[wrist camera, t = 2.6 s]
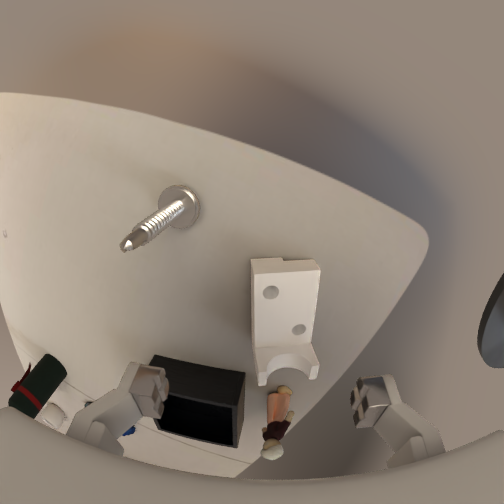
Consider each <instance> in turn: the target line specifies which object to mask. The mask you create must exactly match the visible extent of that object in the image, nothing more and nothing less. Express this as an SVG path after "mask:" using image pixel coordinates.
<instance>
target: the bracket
mask: <svg viewBox="0 0 504 504" xmlns="http://www.w3.org/2000/svg"><path fill="white" fill-rule="evenodd" d="M320 272H321V269H320V268H319V266H318V265H317V263H316V262H315V260H314V259H309V260H292V261H283V259H282V257H279V258H260V259H251V317H252V348H253V355H254V361H255V367H256V374H257V380H258V386H264V385H266V384H267V378H268V376H269V375H270V374H271V373H272V372H273V371H275V370H277V369H279V368H285V367H290V368H295V369H298V370H300V371H302V372H304V373H305V374H306V375H307V377H308V379H309V380H312V379H316V378H317V374H318V370H319V362H318V360H317V357H316V354H315V352H314V349H313V347H312V344H311V338H312V332H313V325H314V318H315V311H316V304H317V297H318V289H319V281H320Z"/></svg>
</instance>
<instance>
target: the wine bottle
mask: <svg viewBox="0 0 504 504" xmlns="http://www.w3.org/2000/svg"><path fill="white" fill-rule="evenodd" d="M30 369H31V365H30V364H29V368H28V370H27V371H26V373H25V374H24V376H23V377H22V379H21V380H20V382H19V381H17V382H16V384H15V385H14V386H13V387H12V389H11V391H13V392H14V393H13V395H12V396H11V397H10V399H9V402H8V403H9V407H13V408H15V409H17V410H19V411H20V412H22V413H24V414H25V415H27V416H29V417H31V418H32V419H34V418H35V417H36V416H37V414H38V413H39V411H40V410H41V409H42V407H43V406H44V405H45V403H46V402H47V401H48V399H49V398H50V397H51V395H52V394H53V393H54V391H55V390H56V389H57V387H58V386H59V385H60V383H61V382H62V381H63V380H64V378H65V377H66V375H67V372H66V370H65V368H64V367H63V365H62V364H61V363H60V362H59V361H58V360H57V359H56V358H55V357H53V356H51V355H50V354H45V355H44V357H43V358H42V359H41V360H40V361H39V362H38V364H37V365H36V366H35V367H34V368H33V370H32V371H31V372H30Z"/></svg>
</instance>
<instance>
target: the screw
mask: <svg viewBox="0 0 504 504" xmlns="http://www.w3.org/2000/svg"><path fill="white" fill-rule="evenodd" d="M158 209H159V210H158V211H156V212H155V213H153V214H152V215H150V216H148V217H147V218H146V219H144V220H143V221H141V222H140V223H138V224H137V225H136V226H135V227H134V228H133V230H132V232H131V233H130V234H129V235H128V236H126V237H125V238H124V239H123V241H122V242H121V243H120V249H121V250H122V252H124V253H125V252H126V251H127V250H129V251H130V250H134V249H136V248H138V247H139V246H143V245H145V244H147V243H149V242H150V241H151V240H153V239H154V238H155V237H156V236H157V235H159V233H161V232H162V231H163V230H164V229H166V228H167V227H168V226H169V225H170V226H172V227H174V228H179V229H182V228H187V227H189V226H191V225H192V224H193V223H194V222H195V221H196V220H197V218H198V215H199V211H200V205H199V201H198V199H197V197H196V195H195V194H194V193H193V191H191V190H190V189H189V188H187V187H185V186H182V185H174V186H170V187H168V188H166V189H165V190H164V191H163V192H162V194H161V195H160V197H159V201H158Z"/></svg>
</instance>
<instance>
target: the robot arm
mask: <svg viewBox="0 0 504 504" xmlns="http://www.w3.org/2000/svg"><path fill="white" fill-rule="evenodd" d="M165 374H166V372H165V369H164V368H160V367H154V366H149V365H144V364H140V363H135V362H131V363H130V364H129V365H128V367H127V369H126V371H125V373H124V375H123V377H122V379H121V381H120V384H119V386H118V388H117V389H113V390H111V391H110V392H108V393H107V394H105V395H104V396H102V397H101V398H99V399H98V400H96V401H94V402H93V403H91V404H90V405H88V406H87V407H85V408H83V409H82V410H80V411H79V412H77V413H76V415H75V417H74V419H73V421H72V423H71V425H70V427H69V429H68V431H67V433H66V435H65V434H63V433H60V432H58V431H56V430H54V429H52V428H50V427H48V426H46V425H44V424H42V423H40V422H38V421H36V420H34V419H32V418H31V417H29V416H27V415H25V414H24V413H22V412H20V411H19V410H17V409H15V408H13V407H5V408H2V409H0V504H504V431H503V430H498V431H495V432H493V433H491V434H489V435H487V436H485V437H482V438H481V439H478V440H476V441H474V442H471V443H468V444H466V445H464V446H461V447H459V448H456V449H453V450H450V451H448V452H445V449H444V445H443V442H442V439H441V436H440V433H439V430H438V429H437V428H435V427H434V426H433V425H432V424H431V423H429V422H428V421H427V420H425V419H424V418H423V417H422V416H421V415H420V414H418V413H417V412H416V411H415V410H413V409H412V408H411V407H410V406H409V405H407V404H406V403H402V401H401V398H400V395H399V392H398V389H397V387H396V383H395V381H394V378H393V376H392V375H391V374H390V375H382V376H380V375H378V376H367V377H359V378H358V379H357V381H356V383H357V386H356V387H354V388H353V390H352V392H351V398H350V400H351V407H352V409H353V410H355V414H354V416H353V418H354V422H355V428H364V427H372V426H374V427H373V428H374V429H375V430H376V431H377V433H378V434H379V435H380V436H381V437H382V438H383V439H384V441H385V442H386V443H387V444H388V445H389V446H390V447H391V448H392V450H393V451H394V452H395V454H394V455H393V456H392V457H391V458H390V459H389V460H388V461H387V466H388V469H384V470H379V471H373V472H368V473H361V474H355V475H348V476H339V477H330V478H319V479H301V480H257V479H240V478H228V477H219V476H210V475H203V474H196V473H190V472H185V471H179V470H174V469H169V468H165V467H160V466H156V465H152V464H148V463H144V462H140V461H137V460H133V459H130V458H126V457H123V453H124V449H123V447H122V446H121V445H120V443H119V442H118V441H117V439H118V438H119V437H120V436H121V435H123V434H124V433H125V432H126V431H127V430H128V429H129V428H131V427H132V426H133V425H134V424H135V423H136V422H137V421H139V420H140V419H141V418H142V417H143V416H147V417H152V418H157V419H161V416H162V413H163V410H164V405H163V402H164V401H165V400H166V399H167V397H168V393H169V382H168V379H167V378H165Z"/></svg>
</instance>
